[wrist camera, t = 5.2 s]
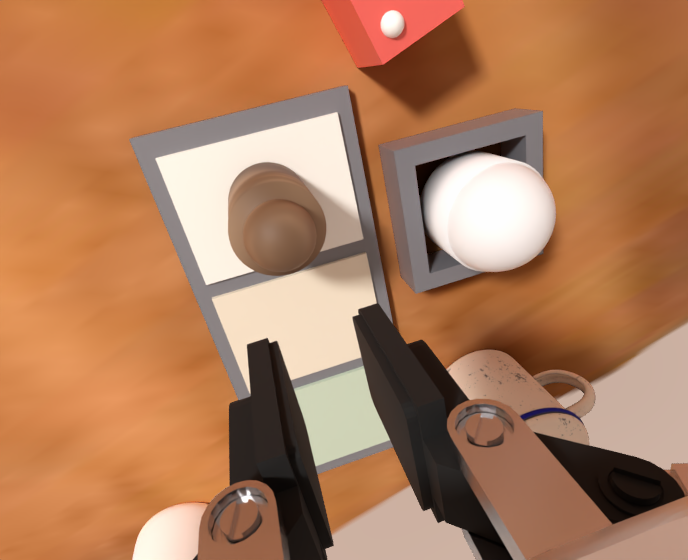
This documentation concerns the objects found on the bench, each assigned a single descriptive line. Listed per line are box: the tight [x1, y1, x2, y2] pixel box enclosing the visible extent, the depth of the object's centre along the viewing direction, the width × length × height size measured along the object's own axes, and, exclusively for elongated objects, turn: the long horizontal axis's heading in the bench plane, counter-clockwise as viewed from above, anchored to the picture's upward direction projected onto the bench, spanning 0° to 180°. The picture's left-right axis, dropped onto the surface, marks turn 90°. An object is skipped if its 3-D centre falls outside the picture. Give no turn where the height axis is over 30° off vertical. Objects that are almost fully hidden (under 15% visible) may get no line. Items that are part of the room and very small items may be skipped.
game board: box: [129, 86, 393, 474], centre depth 32 cm, size 13×30×1 cm, turn 13°
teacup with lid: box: [446, 350, 595, 445], centre depth 35 cm, size 12×9×12 cm
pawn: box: [228, 162, 326, 276], centre depth 24 cm, size 5×5×9 cm
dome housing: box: [379, 109, 543, 293], centre depth 30 cm, size 10×10×3 cm
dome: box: [420, 151, 556, 272], centre depth 27 cm, size 7×7×7 cm
